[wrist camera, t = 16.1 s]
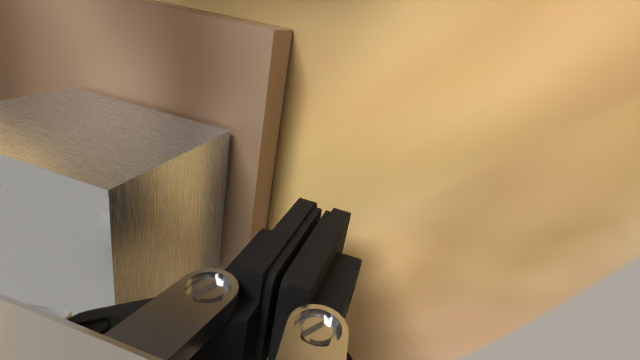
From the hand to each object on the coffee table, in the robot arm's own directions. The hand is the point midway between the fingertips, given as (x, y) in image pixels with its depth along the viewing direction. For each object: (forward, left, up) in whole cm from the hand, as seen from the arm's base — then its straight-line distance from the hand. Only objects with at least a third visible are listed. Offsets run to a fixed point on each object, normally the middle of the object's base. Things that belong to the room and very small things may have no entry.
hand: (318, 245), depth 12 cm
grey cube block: (-7, 0, -1) cm, 7 cm away
